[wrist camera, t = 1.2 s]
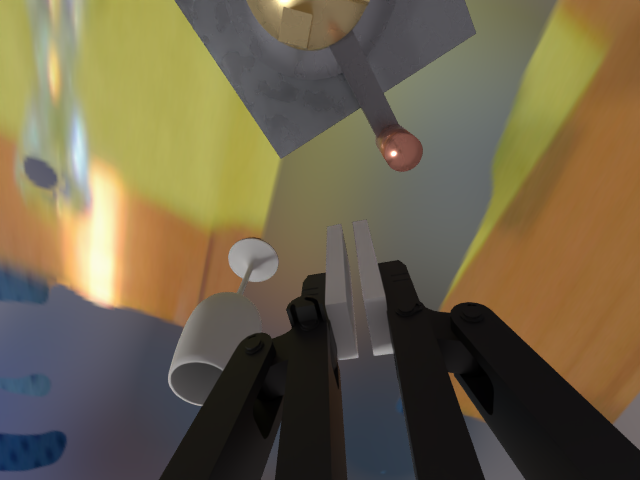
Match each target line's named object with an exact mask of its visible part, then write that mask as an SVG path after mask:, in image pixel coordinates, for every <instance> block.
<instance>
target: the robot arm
mask: <svg viewBox="0 0 640 480" xmlns="http://www.w3.org/2000/svg"><path fill="white" fill-rule="evenodd" d="M353 228H354V236H355V242H356V250H357V257H358V264H359V271H360V278H361V285H362V292H363V299H364V304H365V310H366V316H367V321H368V326H369V332H370V337H371V342H372V348H373V353H374V356H376V355H383V354H391V353H394V359H395V366H396V372H397V378H398V382H399V388H400V394H401V399H402V405H403V411H404V416H405V422H406V427H407V433H408V439H409V445H410V450H411V456H412V462H413V467H414V473H415V478H416V480H485V478H484V475H483V473H482V469H481V466H480V464H479V461H478V458H477V455H476V452H475V449H474V446H473V443H472V440H471V438H470V435H469V432H468V429H467V426H466V423H465V421H464V418H463V414H462V412H461V409H460V406H459V403H458V400H457V397H456V394H455V391H454V388H453V386H452V383H451V380H450V377H449V374H448V372H450V373H454V376H455V378H456V379H457V381H458V382H459V383H460V385H461V386H462V388H463V389H464V391H465V392H466V394H467V395H468V397H469V398H470V399H471V401H472V402H473V404H474V405H475V407H476V408H477V410H478V411H479V413H480V414H481V416H482V417H483V418H484V420H485V421H486V423H487V424H488V426H489V427H490V429H491V430H492V431H493V433H494V434H495V436H496V437H497V439H498V440H499V442H500V443H501V445H502V446H503V447H504V449H505V451H506V452H507V453H508V455H509V456H510V458H511V459H512V461H513V462H514V464H515V465H516V467H517V468H518V469H519V471H520V472H521V474H522V475H523V477H524V478H525V480H640V450H639V449H638V448H637V447H636V446H634V445H633V444H632V443H631V442H630V441H629V440H628V439H627V438H626V437H625V436H624V435H623V434H622V433H621V432H620V431H618V429H617V428H615V427H614V426H613V425H612V424H611V423H610V422H609V421H608V420H607V419H606V418H605V417H604V416H603V415H602V414H601V413H600V412H599V411H597V410H596V409H595V408H594V407H593V406H592V405H591V404H590V403H589V402H588V401H587V400H586V399H585V398H584V397H583V396H582V395H581V394H579V393H578V392H577V391H576V390H575V389H574V388H573V387H572V386H571V385H570V384H569V383H568V382H567V381H566V380H565V379H564V378H563V377H561V376H560V375H559V374H558V373H557V372H556V371H555V370H554V369H553V368H552V367H551V366H550V365H549V364H548V363H547V362H546V361H545V360H543V359H542V358H541V357H540V356H539V355H538V354H537V353H536V352H535V351H534V350H533V349H532V348H531V347H530V346H529V345H528V344H527V343H525V342H524V341H523V340H522V339H521V338H520V337H519V336H518V335H517V334H516V333H515V332H514V331H513V330H512V329H511V328H510V327H509V326H507V325H506V324H505V323H504V322H503V321H502V320H501V319H500V318H499V317H498V316H497V315H496V314H495V313H494V312H493V311H492V310H490V309H489V308H487V307H486V306H484V305H481V304H478V303H472V302H466V303H460V304H458V305H456V306H454V307H453V309H452V310H451V313H446V312H437V311H433V310H430V309H428V308H426V307H425V306H424V305H423V303H421V302H420V301H419V299H418V296H417V293H416V291H415V288H414V286H413V283H412V280H411V278H410V275H409V273H408V270H407V267H406V265H404V264H403V263H402V262H400V261H399V260H397V261H390V262H384V263H377V259H376V255H375V251H374V247H373V243H372V239H371V235H370V230H369V226H368V222H367V220H361V221H355V222H353ZM353 307H354V306H353V295H352V286H351V274H350V266H349V261H348V255H347V251H346V246H345V240H344V236H343V230H342V225H341V224H338V225H333V226H328V227H327V252H326V273H321V274H314V275H308V276H307V278H306V279H305V281H304V282H303V287H302V295H301V297H298V298H296V299H294V300H292V301H291V303H289V305H288V306H287V309H286V311H287V314H288V316H289V320H290V323H291V326H292V329H291V330H290V331H289V332H287V333H285V334H283V335H281V336H278V337H276V338H273V339H271V337H270V336H269V335H268V334H266V333H254V334H252V335H249V336H247V337H246V338H245V339H243V340H242V341H241V342H240V343H239V345H238V346H237V348H236V349H235V351H234V353H233V355H232V356H231V358H230V360H229V361H228V363H227V365H226V366H225V368H224V370H223V372H222V373H221V375H220V377H219V378H218V380H217V382H216V383H215V385H214V387H213V389H212V390H211V392H210V394H209V395H208V397H207V399H206V401H205V402H204V404H203V406H202V407H201V409H200V411H199V412H198V414H197V416H196V418H195V419H194V421H193V423H192V424H191V426H190V428H189V429H188V431H187V433H186V435H185V436H184V438H183V440H182V441H181V443H180V445H179V446H178V448H177V450H176V452H175V453H174V455H173V457H172V458H171V460H170V462H169V464H168V466H167V467H166V469H165V470H164V472H163V474H162V476H161V477H160V479H159V480H261V477H262V474H263V472H264V468H265V465H266V463H267V460H268V457H269V454H270V451H271V449H272V446H273V443H274V440H275V437H276V434H277V431H278V428H279V426H280V423H281V429H280V430H281V431H280V439H279V449H278V457H277V466H276V475H275V480H347V467H346V454H345V438H344V424H343V409H342V395H341V380H340V370H339V366H338V362H337V354H338V358H339V360H344V359H352V358H358V348H357V337H356V328H355V316H354V308H353Z"/></svg>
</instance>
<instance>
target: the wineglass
mask: <svg viewBox="0 0 640 480" xmlns="http://www.w3.org/2000/svg"><path fill="white" fill-rule="evenodd" d="M228 258H229V264H230V267H231V268H232V270H233V271H234V272H235V273H236V274H237V275H238V276H239V277H241V278H243V280H242V282H241V285H240V287H239V289H238V292H237V293H233V292H222V293H217V294H214V295H212V296H210V297H208V298H207V299H205V300H203V301H202V302H201V303H200V304H199V305H198V306H197V307H196V308H195V309H194V311H193V312H192V314H191V316H190V317H189V319H188V321H187V323H186V325H185V327H184V330H183V332H182V335H181V337H180V340H179V342H178V345H177V347H176V351H175V354H174V357H173V360H172V363H171V367H170V371H169V376H168V381H169V385H170V387H171V389H172V390H173V392H174V393H175V394H176V395H177V396H178V397H180V398H181V399H183V400H184V401H187V402H189V403H191V404H195V405H198V406H203V404H204V402H205V401H206V399H207V397H208V395H209V394H210V392H211V390H212V389H213V387H214V385H215V383H216V382H217V380H218V378H219V377H220V375H221V373H222V372H223V370H224V368H225V366H226V365H227V363H228V361H229V360H230V358H231V356H232V355H233V353H234V351H235V349H236V348H237V346H238V345H239V343H240V342H241V341H242V340H243V339H245V338H246V337H247V336H249V335H252V334H254V333H261V330H262V324H261V323H262V322H261V318H260V315H259V312H258V309H257V308H256V306H255V305H254V304H253V303H252V302H251V301H250V300H249V299H248V298H246V297H245V296H243V293H244V290H245V288H246V285H247V283H248V281H253V282H261V281H264V280H267V279H269V278H270V277H272V276H273V275H274V274H275V272H276V271H277V268H278V264H279V261H278V256H277V253H276V251H275V250H274V248H273V247H272V246H270V244H268V243H266V242H265V241H263V240H260V239H256V238H246V239H242V240H240V241H238V242H236V243H235V244H234V245H233V246H232V248H231V250H230V252H229V256H228Z"/></svg>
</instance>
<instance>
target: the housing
mask: <svg viewBox="0 0 640 480" xmlns="http://www.w3.org/2000/svg"><path fill="white" fill-rule="evenodd" d="M175 2H176V3H177V5H178V6H179V8H180V9H181V11H182V12H183V14H184V15H185V17H186V18H187V20H188V21H189V23H190V24H191V26H192V27H193V29H194V30H195V31H196V33H197V34H198V36H199V37H200V39H201V40H202V42H203V43H204V45H205V46H206V48H207V49H208V51H209V52H210V54H211V55H212V57H213V58H214V60H215V61H216V63H217V64H218V66H219V67H220V69H221V70H222V72H223V73H224V75H225V76H226V78H227V79H228V81H229V82H230V84H231V85H232V87H233V88H234V90H235V91H236V93H237V94H238V96H239V97H240V99H241V100H242V102H243V103H244V105H245V106H246V108H247V109H248V111H249V112H250V113H251V115H252V116H253V118H254V119H255V121H256V122H257V124H258V125H259V127H260V128H261V130H262V131H263V133H264V134H265V136H266V137H267V139H268V140H269V142H270V143H271V145H272V146H273V148H274V149H275V151H276V152H277V154H278V155H279V157H280V158H281V159H282V158H283V157H285V156H286V155H288V154H289V153H291V152H292V151H294V150H295V149H297V148H299V147H300V146H302V145H303V144H305V143H306V142H308V141H310V140H311V139H313V138H314V137H316V136H317V135H319V134H320V133H322V132H324V131H325V130H327V129H328V128H330V127H331V126H333V125H334V124H336V123H338V122H339V121H341V120H342V119H344V118H345V117H347V116H348V115H350V114H352V113H353V112H355V111H356V110H358V109H359V108H361V107H360V105H359V103H358V101H357V99H356V97H355V95H354V93H353V91H352V90H351V88H350V86H349V84H348V82H347V80H346V78H345V76H344V74H343V72H342V71H341V69H340V67H339V65H338V63H337V61H336V59H335V57H334V55H333V53H332V52H331V50H330V48H326V49H322V50H318V51H303V50H297V49H294V48H291V47H289V46H287V45H285V44H283V43H281V42H279V41H278V40H277V39H276V38H274V37H273V36H271V35H270V34H269V33H268V32H267V31H266V30H265V29H264V28H263V27H262V26H261V25H260V23H259V22H258V21H257V19H256V18H255V16H254V15H253V13H252V11H251V9H250V7H249V5H248V3H247V1H246V0H175ZM353 32H354V34H355V36H356V38H357V40H358V42H359V44H360V46H361V48H362V51H363V53H364V55H365V57H366V59H367V61H368V63H369V65H370V67H371V69H372V71H373V73H374V75H375V77H376V79H377V81H378V83H379V85H380V87H381V89H382V91H383V93H384V92H386V91H387V90H389V89H390V88H392V87H393V86H395V85H397V84H398V83H400V82H401V81H403V80H404V79H406V78H407V77H409V76H411V75H412V74H414V73H415V72H417V71H418V70H420V69H421V68H423V67H425V66H426V65H428V64H429V63H431V62H432V61H434V60H436V59H437V58H439V57H440V56H442V55H443V54H445V53H446V52H448V51H450V50H451V49H453V48H454V47H456V46H457V45H459V44H460V43H462V42H464V41H465V40H466V39H468V38H470V37H471V36H473V35H474V34H476V31H475V29H474V26H473V23H472V20H471V17H470V14H469V11H468V8H467V6H466V3H465V0H370V2H369V4H368V6H367V7H366V9H365V11H364V13H363V15H362V16H361V18H360V20H359V22H358V23H357V25H356V26H355V27H354V29H353Z"/></svg>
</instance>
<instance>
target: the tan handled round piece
mask: <svg viewBox="0 0 640 480" xmlns="http://www.w3.org/2000/svg"><path fill="white" fill-rule="evenodd" d="M246 1H247V3H248V5H249V7H250V9H251V11H252V13H253V15H254V16H255V18H256V19H257V21H258V22H259V23H260V25H261V26H262V27H263V28H264V29H265V30H266V31H267V32H268V33H269V34H270V35H271V36H273V37H274V38H276V39H277V40H278V41H279V42H281V43H283V44H285V45H287V46H289V47H291V48H294V49H297V50H303V51H318V50H322V49H326V48H330V50H331V52H332V53H333V55H334V57H335V59H336V61H337V63H338V65H339V67H340V69H341V71H342V72H343V74H344V76H345V78H346V80H347V82H348V84H349V86H350V88H351V90H352V91H353V93H354V95H355V97H356V99H357V101H358V103H359V105H360V107H361V108H362V110H363V112H364V114H365V116H366V118H367V120H368V122H369V124H370V126H371V128H372V129H373V131H374V133H375V135H376V145H377V147H378V149H379V151H380V152H381V153H382V155H383V157H384V159H385V160H386V162H387V163H388V165H389V166H390V167H391V168H392V169H394V170H396V171H401V172H402V171H403V172H404V171H408V170H411V169H412V168H414V167H415V166H416V165H417V164H418V163H419V162H420V160H421V157H422V154H423V148H422V145H421V143H420V141H419V140H418V139H417V138H416V137H415V136H413V135H412V134H411V133H410V132H408V131H407V130H406V129H404V128H403V127H402V126H400V125H399V124H398V122H397V120H396V118H395V116H394V114H393V112H392V110H391V108H390V106H389V104H388V102H387V100H386V98H385V96H384V93H383V91H382V89H381V87H380V85H379V83H378V81H377V79H376V77H375V75H374V73H373V71H372V69H371V67H370V65H369V63H368V61H367V59H366V57H365V55H364V53H363V51H362V48H361V46H360V44H359V42H358V40H357V38H356V36H355V34H354V32H353V29H354V27H355V26H356V25H357V23H358V22H359V20H360V18H361V16H362V15H363V13H364V11H365V9H366V7H367V6H368V4H369V2H370V0H246Z"/></svg>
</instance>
